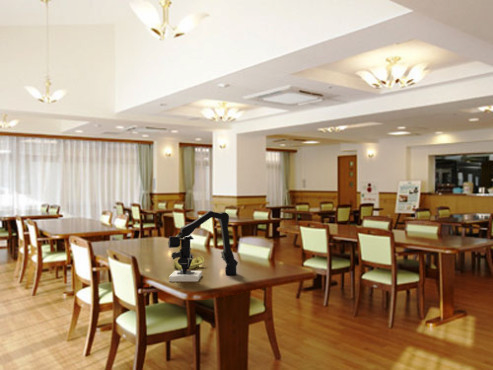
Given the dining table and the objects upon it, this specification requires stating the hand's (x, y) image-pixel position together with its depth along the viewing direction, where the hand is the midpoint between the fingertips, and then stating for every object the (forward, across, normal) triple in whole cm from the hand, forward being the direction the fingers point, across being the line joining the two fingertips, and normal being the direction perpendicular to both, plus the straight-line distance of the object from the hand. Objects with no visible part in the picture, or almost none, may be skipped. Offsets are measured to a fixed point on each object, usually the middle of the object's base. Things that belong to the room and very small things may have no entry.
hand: (185, 272), depth 253 cm
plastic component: (+4, -32, -3) cm, 32 cm away
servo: (+4, 0, 0) cm, 4 cm away
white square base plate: (+4, 0, 0) cm, 4 cm away
